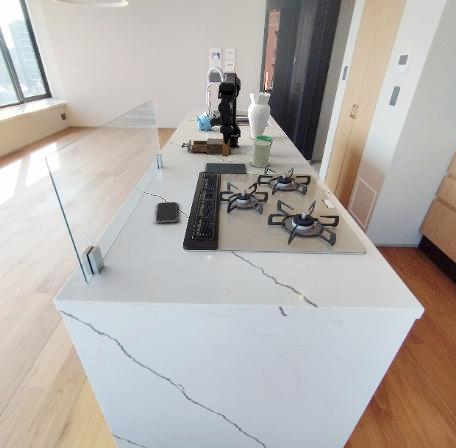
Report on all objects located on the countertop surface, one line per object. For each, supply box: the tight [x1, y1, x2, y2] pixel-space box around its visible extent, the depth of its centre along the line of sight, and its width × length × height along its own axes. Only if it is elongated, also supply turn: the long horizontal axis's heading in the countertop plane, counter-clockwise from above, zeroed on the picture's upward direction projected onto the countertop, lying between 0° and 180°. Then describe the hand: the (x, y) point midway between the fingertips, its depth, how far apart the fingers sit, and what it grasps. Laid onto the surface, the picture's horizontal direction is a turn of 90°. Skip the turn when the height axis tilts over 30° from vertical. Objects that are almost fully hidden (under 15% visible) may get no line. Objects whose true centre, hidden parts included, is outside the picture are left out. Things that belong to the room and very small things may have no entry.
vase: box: [247, 91, 271, 141], centre depth 193 cm, size 15×15×29 cm
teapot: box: [195, 114, 213, 132], centre depth 217 cm, size 13×13×10 cm
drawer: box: [181, 139, 207, 153], centre depth 171 cm, size 16×11×4 cm
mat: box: [205, 162, 247, 175], centre depth 147 cm, size 20×14×1 cm
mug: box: [255, 134, 274, 149], centre depth 167 cm, size 15×10×10 cm
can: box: [250, 140, 272, 168], centre depth 150 cm, size 9×9×12 cm
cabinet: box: [206, 137, 231, 156], centre depth 171 cm, size 14×13×6 cm
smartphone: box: [155, 201, 178, 224], centre depth 105 cm, size 7×1×15 cm
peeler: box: [222, 135, 229, 158], centre depth 146 cm, size 3×3×12 cm
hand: (225, 143), depth 146 cm, fingers closed on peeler, 3 cm apart
